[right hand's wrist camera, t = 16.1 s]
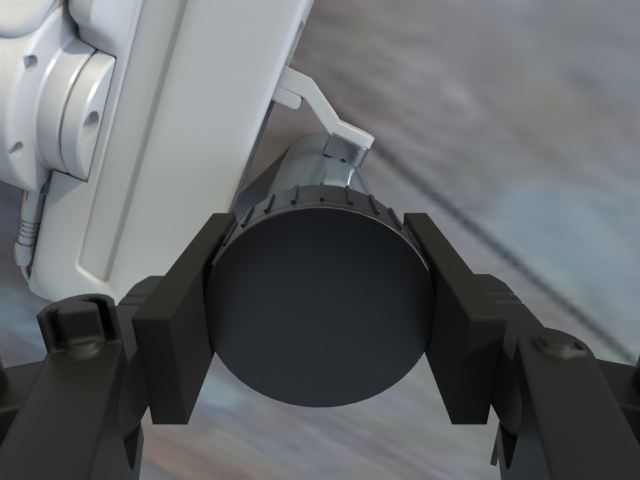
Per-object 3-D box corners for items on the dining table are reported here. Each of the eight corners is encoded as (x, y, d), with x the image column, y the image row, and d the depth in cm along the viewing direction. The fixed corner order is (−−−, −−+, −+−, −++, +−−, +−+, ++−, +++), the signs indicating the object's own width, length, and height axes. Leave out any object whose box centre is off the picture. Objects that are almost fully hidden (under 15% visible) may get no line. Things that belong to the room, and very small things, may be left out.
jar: (329, 225, 27) (341, 402, 12) (265, 183, 26) (195, 324, 11) (374, 163, 25) (450, 282, 11) (309, 116, 24) (293, 178, 10)
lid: (454, 218, 11) (481, 246, 10) (378, 380, 14) (388, 431, 12) (246, 152, 11) (230, 169, 9) (201, 334, 13) (180, 380, 11)
